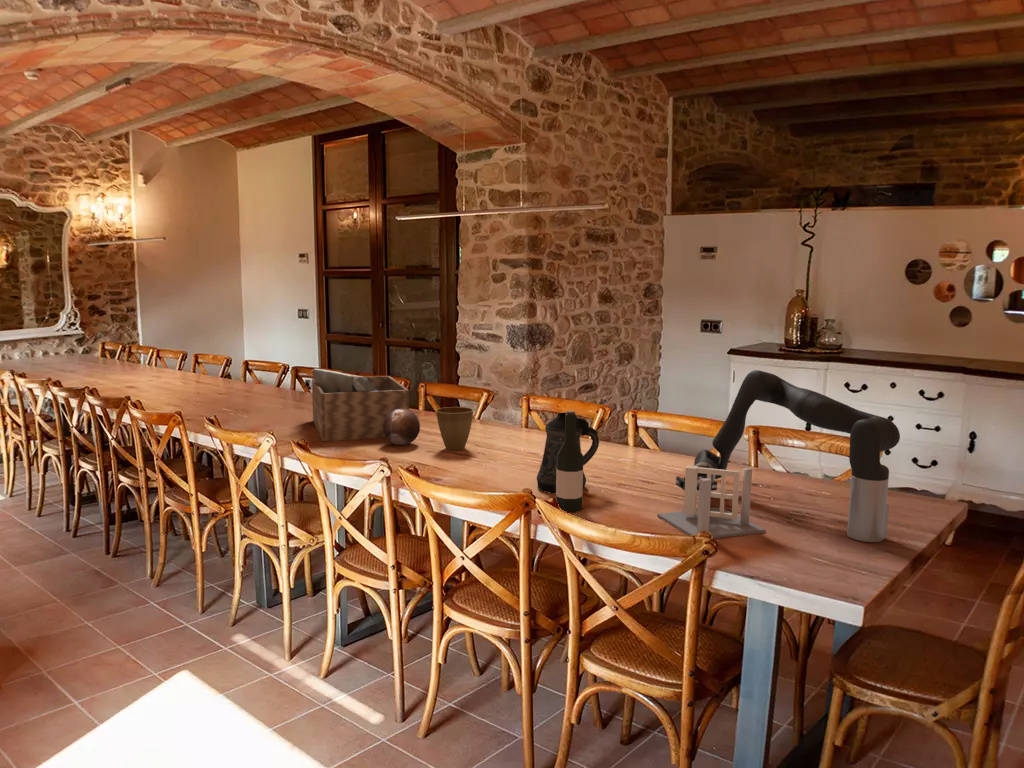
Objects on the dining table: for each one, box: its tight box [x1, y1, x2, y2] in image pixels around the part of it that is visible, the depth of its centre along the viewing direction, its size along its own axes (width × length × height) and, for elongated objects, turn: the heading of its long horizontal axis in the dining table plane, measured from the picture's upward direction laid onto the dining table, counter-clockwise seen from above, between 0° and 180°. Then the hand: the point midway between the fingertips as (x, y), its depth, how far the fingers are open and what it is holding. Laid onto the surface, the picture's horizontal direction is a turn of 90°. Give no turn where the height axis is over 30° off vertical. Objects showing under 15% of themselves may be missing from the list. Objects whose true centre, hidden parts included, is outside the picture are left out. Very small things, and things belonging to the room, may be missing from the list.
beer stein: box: [536, 412, 600, 494], centre depth 259 cm, size 16×19×25 cm
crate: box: [311, 375, 410, 442], centre depth 350 cm, size 36×45×20 cm
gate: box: [683, 465, 741, 520], centre depth 224 cm, size 15×3×14 cm, turn 69°
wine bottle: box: [555, 410, 584, 513], centre depth 236 cm, size 8×8×30 cm
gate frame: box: [657, 467, 766, 539], centre depth 223 cm, size 22×22×17 cm
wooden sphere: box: [383, 408, 421, 446], centre depth 319 cm, size 15×15×15 cm
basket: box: [312, 368, 391, 393], centre depth 350 cm, size 40×31×28 cm
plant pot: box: [435, 406, 474, 452], centre depth 313 cm, size 15×15×16 cm
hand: (690, 490), depth 228 cm, fingers closed
